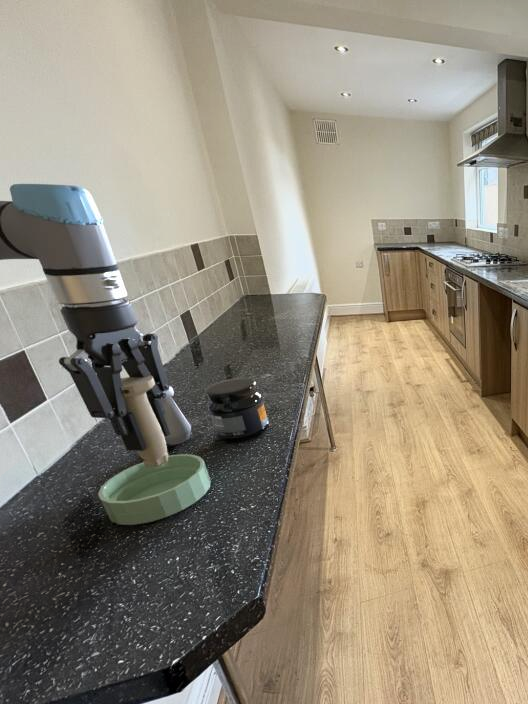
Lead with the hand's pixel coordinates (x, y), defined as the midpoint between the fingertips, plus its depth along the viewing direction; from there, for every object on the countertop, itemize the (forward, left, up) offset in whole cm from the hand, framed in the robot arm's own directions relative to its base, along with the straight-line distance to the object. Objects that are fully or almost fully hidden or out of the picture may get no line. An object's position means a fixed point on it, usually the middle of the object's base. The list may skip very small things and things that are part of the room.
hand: (149, 441), depth 68 cm
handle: (0, 0, -4) cm, 4 cm away
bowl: (-2, 0, -12) cm, 12 cm away
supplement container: (-3, +24, -12) cm, 27 cm away
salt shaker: (-16, +20, -12) cm, 28 cm away
